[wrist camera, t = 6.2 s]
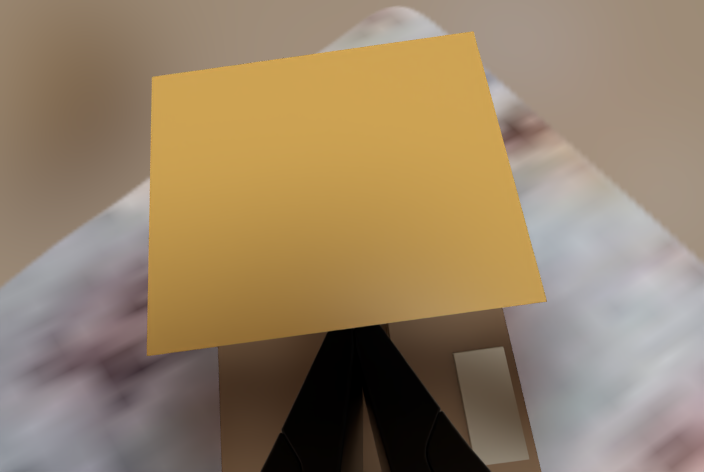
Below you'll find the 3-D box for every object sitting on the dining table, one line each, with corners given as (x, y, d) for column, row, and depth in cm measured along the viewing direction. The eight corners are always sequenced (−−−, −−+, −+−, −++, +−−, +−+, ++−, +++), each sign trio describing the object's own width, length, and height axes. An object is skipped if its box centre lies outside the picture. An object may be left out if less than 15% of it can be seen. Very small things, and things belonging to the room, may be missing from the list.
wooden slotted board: (559, 658, 13) (609, 746, 10) (257, 697, 13) (229, 795, 10) (446, 153, 18) (460, 125, 16) (232, 183, 18) (210, 160, 16)
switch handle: (419, 311, 15) (546, 301, 5) (299, 328, 15) (147, 356, 5) (402, 217, 16) (472, 31, 6) (290, 232, 16) (152, 76, 6)
